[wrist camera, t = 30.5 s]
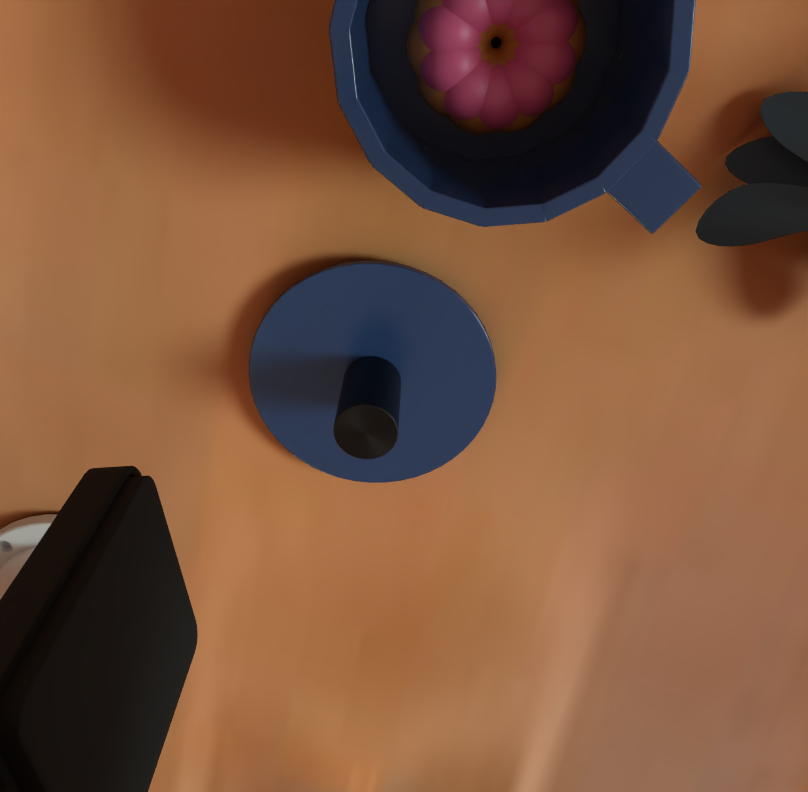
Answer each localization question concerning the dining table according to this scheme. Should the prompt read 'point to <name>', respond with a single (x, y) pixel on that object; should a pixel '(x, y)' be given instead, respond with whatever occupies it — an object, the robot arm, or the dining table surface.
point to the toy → (765, 180)
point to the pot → (540, 143)
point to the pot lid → (372, 371)
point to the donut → (495, 59)
